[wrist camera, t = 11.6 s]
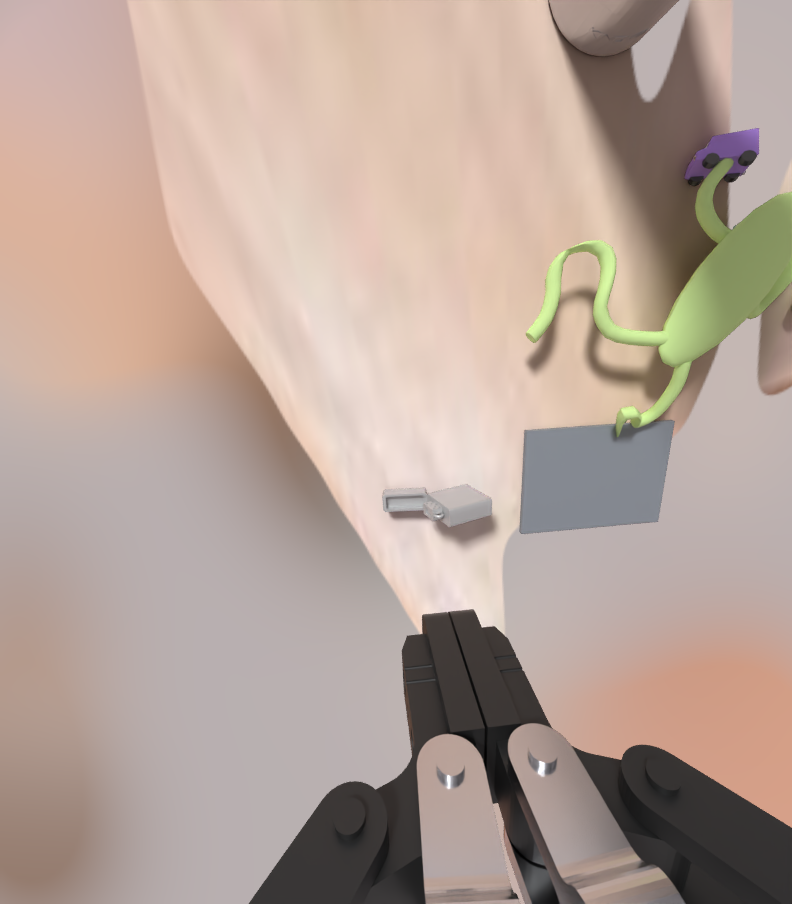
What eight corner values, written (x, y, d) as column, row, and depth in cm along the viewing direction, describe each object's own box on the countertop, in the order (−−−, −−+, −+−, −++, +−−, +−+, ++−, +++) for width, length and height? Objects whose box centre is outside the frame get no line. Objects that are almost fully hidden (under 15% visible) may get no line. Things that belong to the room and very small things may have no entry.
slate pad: (524, 430, 39) (526, 431, 38) (670, 419, 40) (674, 421, 39) (519, 531, 42) (521, 534, 42) (654, 519, 43) (658, 521, 43)
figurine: (489, 298, 36) (511, 293, 30) (760, 87, 32) (839, 40, 27) (586, 453, 41) (620, 472, 35) (828, 285, 38) (905, 278, 32)
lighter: (491, 498, 35) (409, 520, 32) (491, 516, 36) (411, 539, 33) (449, 474, 41) (377, 490, 38) (450, 489, 42) (379, 507, 39)
